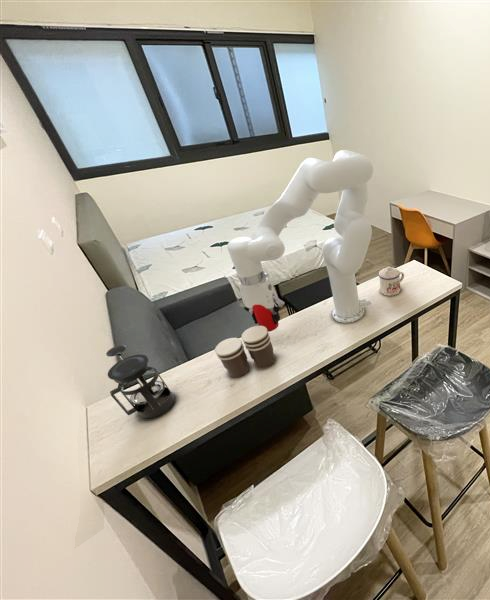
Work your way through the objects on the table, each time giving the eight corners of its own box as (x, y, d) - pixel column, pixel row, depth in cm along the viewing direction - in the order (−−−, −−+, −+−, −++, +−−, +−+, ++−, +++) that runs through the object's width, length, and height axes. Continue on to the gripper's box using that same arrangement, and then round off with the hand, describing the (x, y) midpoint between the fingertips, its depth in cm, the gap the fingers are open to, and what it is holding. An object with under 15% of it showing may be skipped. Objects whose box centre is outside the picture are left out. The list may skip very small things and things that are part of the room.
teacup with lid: (387, 298, 136) (385, 275, 129) (376, 290, 142) (373, 266, 135) (410, 288, 141) (409, 265, 135) (398, 280, 148) (396, 258, 141)
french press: (173, 387, 101) (135, 331, 88) (182, 403, 96) (144, 346, 82) (129, 411, 94) (81, 354, 81) (136, 430, 89) (86, 372, 76)
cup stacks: (275, 350, 113) (265, 322, 106) (279, 364, 107) (268, 336, 100) (226, 366, 107) (212, 338, 100) (227, 382, 102) (212, 353, 95)
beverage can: (278, 332, 111) (268, 303, 104) (259, 335, 110) (248, 306, 103) (280, 321, 116) (271, 293, 109) (262, 324, 115) (252, 296, 108)
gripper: (283, 270, 104) (295, 315, 114) (231, 270, 105) (248, 314, 115) (273, 283, 98) (288, 328, 108) (219, 282, 99) (238, 328, 109)
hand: (267, 321), depth 111 cm, fingers closed on beverage can, 6 cm apart
